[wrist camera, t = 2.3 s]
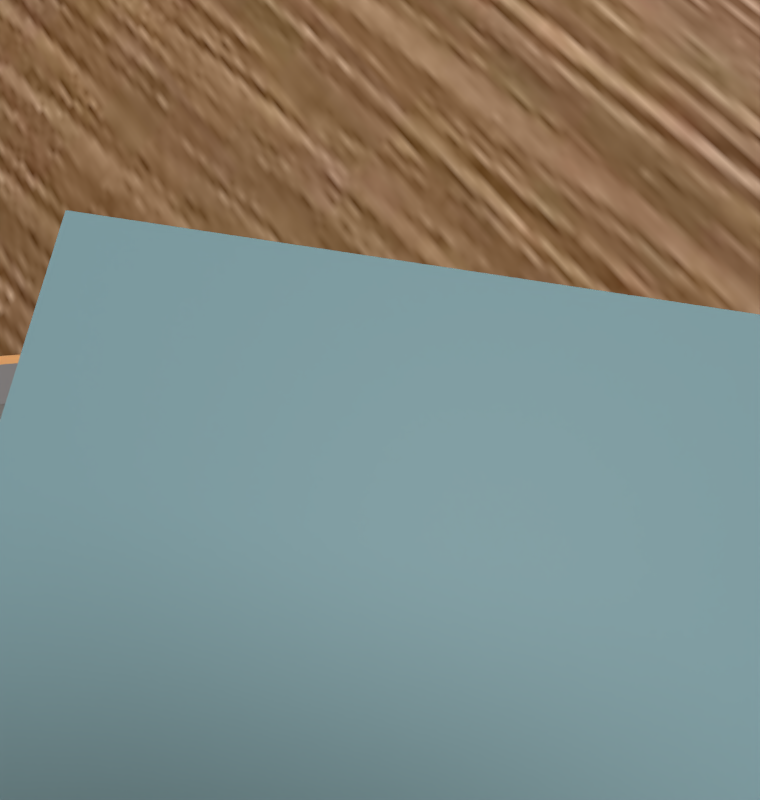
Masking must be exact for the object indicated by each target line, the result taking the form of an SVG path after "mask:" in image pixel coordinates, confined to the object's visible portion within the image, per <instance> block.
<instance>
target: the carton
mask: <svg viewBox="0 0 760 800" xmlns="http://www.w3.org/2000/svg"><path fill="white" fill-rule="evenodd" d="M0 800H760V315H758V314H752V313H745V312H738V311H732V310H725V309H719V308H712V307H705V306H699V305H692V304H685V303H679V302H672V301H665V300H659V299H652V298H645V297H639V296H632V295H625V294H619V293H612V292H606V291H599V290H592V289H586V288H579V287H572V286H566V285H559V284H552V283H546V282H539V281H532V280H526V279H519V278H512V277H506V276H499V275H493V274H486V273H479V272H473V271H466V270H459V269H453V268H446V267H439V266H433V265H426V264H419V263H413V262H406V261H399V260H393V259H386V258H380V257H373V256H366V255H360V254H353V253H346V252H340V251H333V250H326V249H320V248H313V247H306V246H300V245H293V244H286V243H280V242H273V241H267V240H260V239H253V238H247V237H240V236H233V235H227V234H220V233H213V232H207V231H200V230H193V229H187V228H180V227H173V226H167V225H160V224H154V223H147V222H140V221H134V220H127V219H120V218H114V217H107V216H100V215H94V214H87V213H80V212H74V211H67V210H66V211H65V214H64V217H63V221H62V224H61V227H60V230H59V233H58V237H57V240H56V243H55V246H54V249H53V253H52V256H51V259H50V262H49V265H48V269H47V272H46V275H45V278H44V281H43V285H42V288H41V291H40V294H39V297H38V301H37V304H36V307H35V310H34V313H33V317H32V320H31V323H30V326H29V329H28V333H27V336H26V339H25V342H24V345H23V349H22V352H21V355H20V358H19V361H18V365H17V368H16V371H15V374H14V377H13V381H12V384H11V387H10V390H9V393H8V397H7V400H6V403H5V406H4V410H3V413H2V416H1V419H0Z"/></svg>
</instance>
